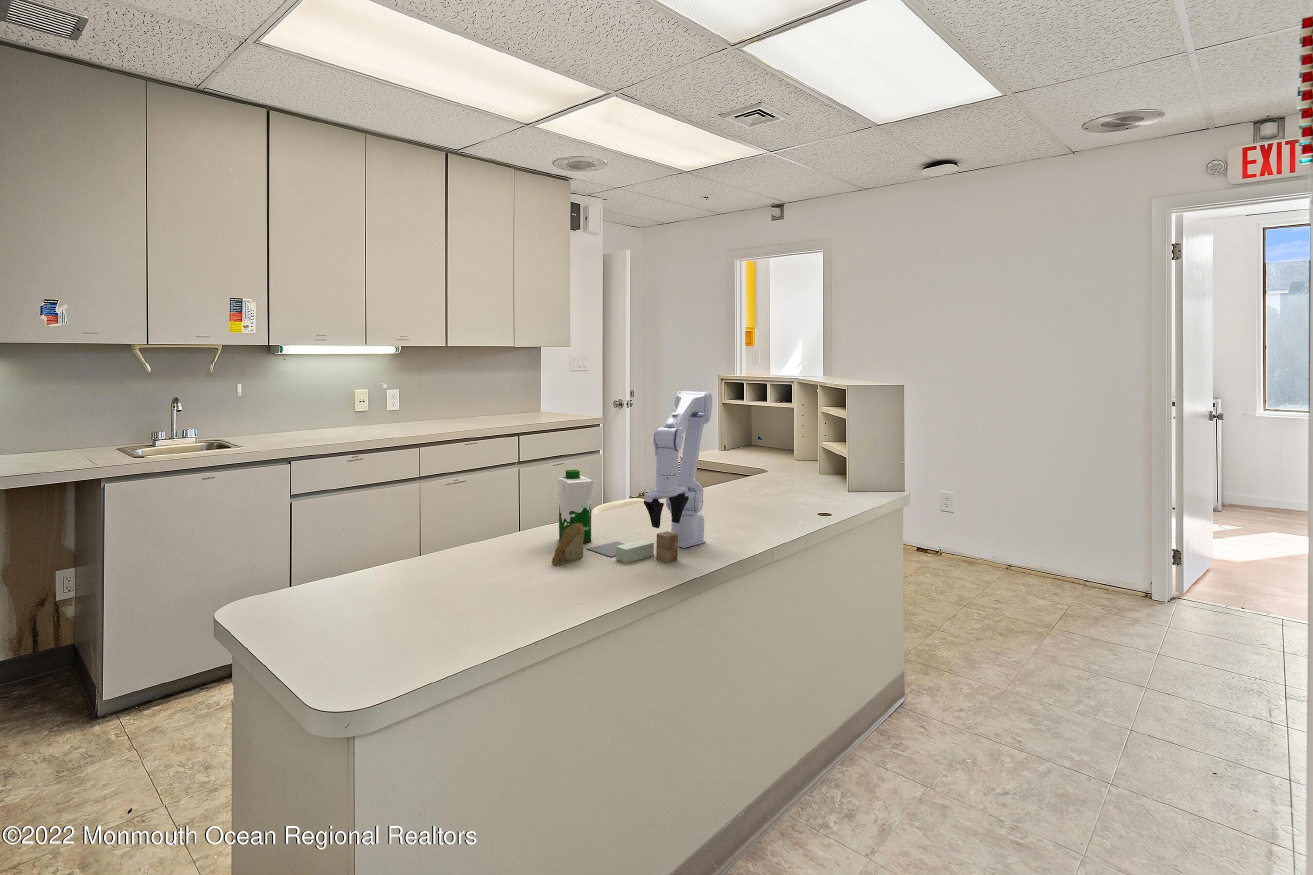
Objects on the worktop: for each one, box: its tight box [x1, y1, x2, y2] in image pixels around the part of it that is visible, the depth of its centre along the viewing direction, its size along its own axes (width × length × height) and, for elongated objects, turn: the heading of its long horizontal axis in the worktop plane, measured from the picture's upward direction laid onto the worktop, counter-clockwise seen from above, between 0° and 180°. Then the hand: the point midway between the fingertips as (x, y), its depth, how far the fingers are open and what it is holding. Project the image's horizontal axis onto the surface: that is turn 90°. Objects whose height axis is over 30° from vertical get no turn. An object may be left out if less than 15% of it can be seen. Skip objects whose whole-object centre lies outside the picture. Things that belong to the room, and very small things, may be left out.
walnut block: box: [655, 531, 679, 564], centre depth 180 cm, size 4×4×7 cm
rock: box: [550, 523, 584, 566], centre depth 178 cm, size 11×9×10 cm
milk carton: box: [557, 469, 594, 544], centre depth 196 cm, size 9×9×20 cm
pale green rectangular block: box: [615, 539, 655, 564], centre depth 182 cm, size 10×4×4 cm, turn 135°
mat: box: [586, 540, 625, 558], centre depth 189 cm, size 11×10×1 cm
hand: (665, 524), depth 180 cm, fingers open, 7 cm apart
